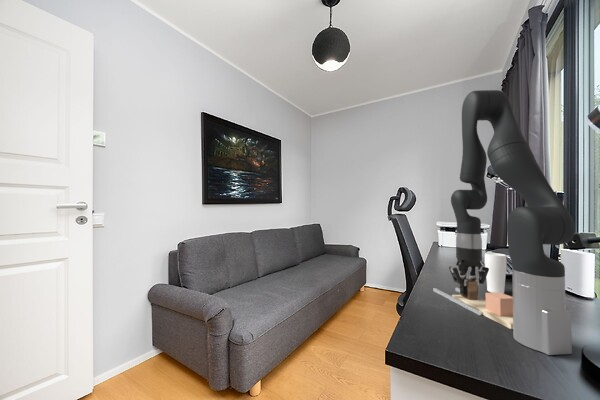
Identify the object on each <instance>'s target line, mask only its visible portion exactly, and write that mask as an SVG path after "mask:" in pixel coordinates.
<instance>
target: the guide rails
mask: <svg viewBox="0 0 600 400" xmlns="http://www.w3.org/2000/svg"><path fill="white" fill-rule="evenodd" d="M432 289H433V290H432V291H433V292H434V293H436V294H438V295H440V296H442V297H444V298H446V299H448V300H449V301H451V302H453V303H456V304H457V305H459V306H461V307H463V308H464V309H466V310H469V311H470V312H473V313H475V314H476V315H478V316H482V311H480V310H478V309H476V308H474V307H472V306H470V305H468V304H466V303H464V302H462V301H460V300H458V299H456V298H454V297H452V295H451V294H449V293H446V292H444V291H442V290H440V289H438V288H436V287H433V288H432ZM454 291H455V292H457V293H460V287H455V290H454ZM483 299H484V298H483ZM484 300H486V298H485V299H484Z"/></svg>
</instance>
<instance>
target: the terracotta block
mask: <svg viewBox="0 0 600 400" xmlns="http://www.w3.org/2000/svg"><path fill="white" fill-rule="evenodd" d="M485 300H486V309H487V310H489V311H491V312H493V313H495V314H497V315H499V316H513V296H511V295H508V294H505V293H504V294H503V293H500V292H497V293H491V292H485Z"/></svg>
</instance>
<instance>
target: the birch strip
mask: <svg viewBox="0 0 600 400" xmlns="http://www.w3.org/2000/svg"><path fill="white" fill-rule="evenodd" d="M463 280H464V279H463ZM478 295H479V286H478V282H476V281H473V280H471V279H470V278H469V280H468V283H467V297H465V296H462V295H461V294H452V295H451V296H452V297H454V298H456V299H458V300H460V301H462V302H464V303H466V304H468V305H470V306H472V307H474V308H476V309H478V310H480V311H482V315H483V316H484V317H486V318H488V319H490V320H492V321H494V322H496V323H498V324H500V325H502V326H504V327H506V328H507V329H509V330H513V316H499V315H497V314H495V313H493V312H491V311H489V310H487V309H486V299H485V300H484V298H482V297H480V296H478ZM482 315H481V316H482Z"/></svg>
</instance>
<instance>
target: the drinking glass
mask: <svg viewBox="0 0 600 400" xmlns="http://www.w3.org/2000/svg"><path fill="white" fill-rule="evenodd" d="M484 267H487V268H489V271H488V274H487V276H486V279H485V280H486V290H487V291H488V293H497V292H500V293H503V294H505V285H506V275H507V274H506V273H507V255H506V254H504V253H499V252H498V253H497V252H485V253H484Z"/></svg>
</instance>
